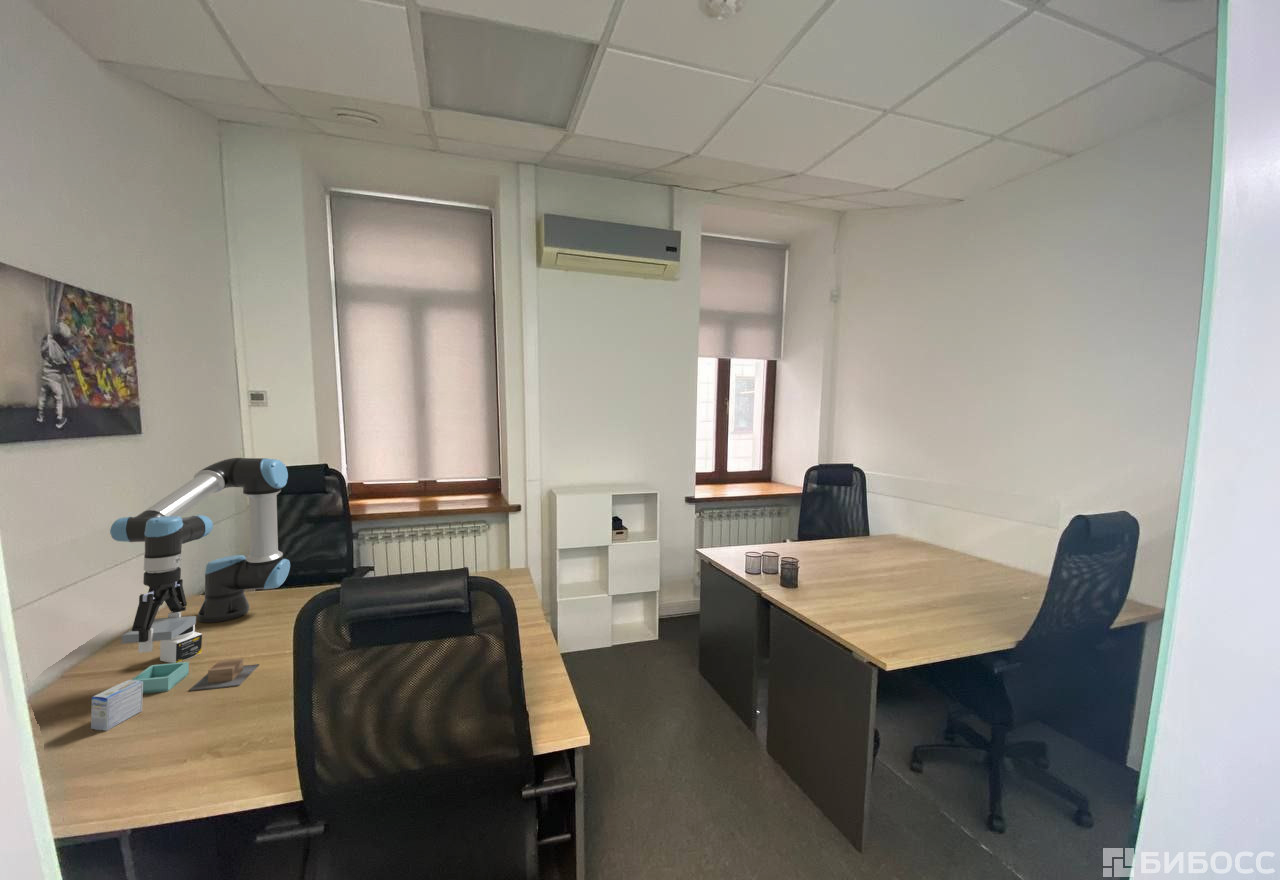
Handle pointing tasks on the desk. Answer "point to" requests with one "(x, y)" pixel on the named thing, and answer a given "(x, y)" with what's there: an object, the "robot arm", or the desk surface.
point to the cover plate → (163, 629)
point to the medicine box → (116, 705)
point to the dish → (162, 676)
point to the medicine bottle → (181, 646)
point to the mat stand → (225, 675)
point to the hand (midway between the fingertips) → (160, 642)
